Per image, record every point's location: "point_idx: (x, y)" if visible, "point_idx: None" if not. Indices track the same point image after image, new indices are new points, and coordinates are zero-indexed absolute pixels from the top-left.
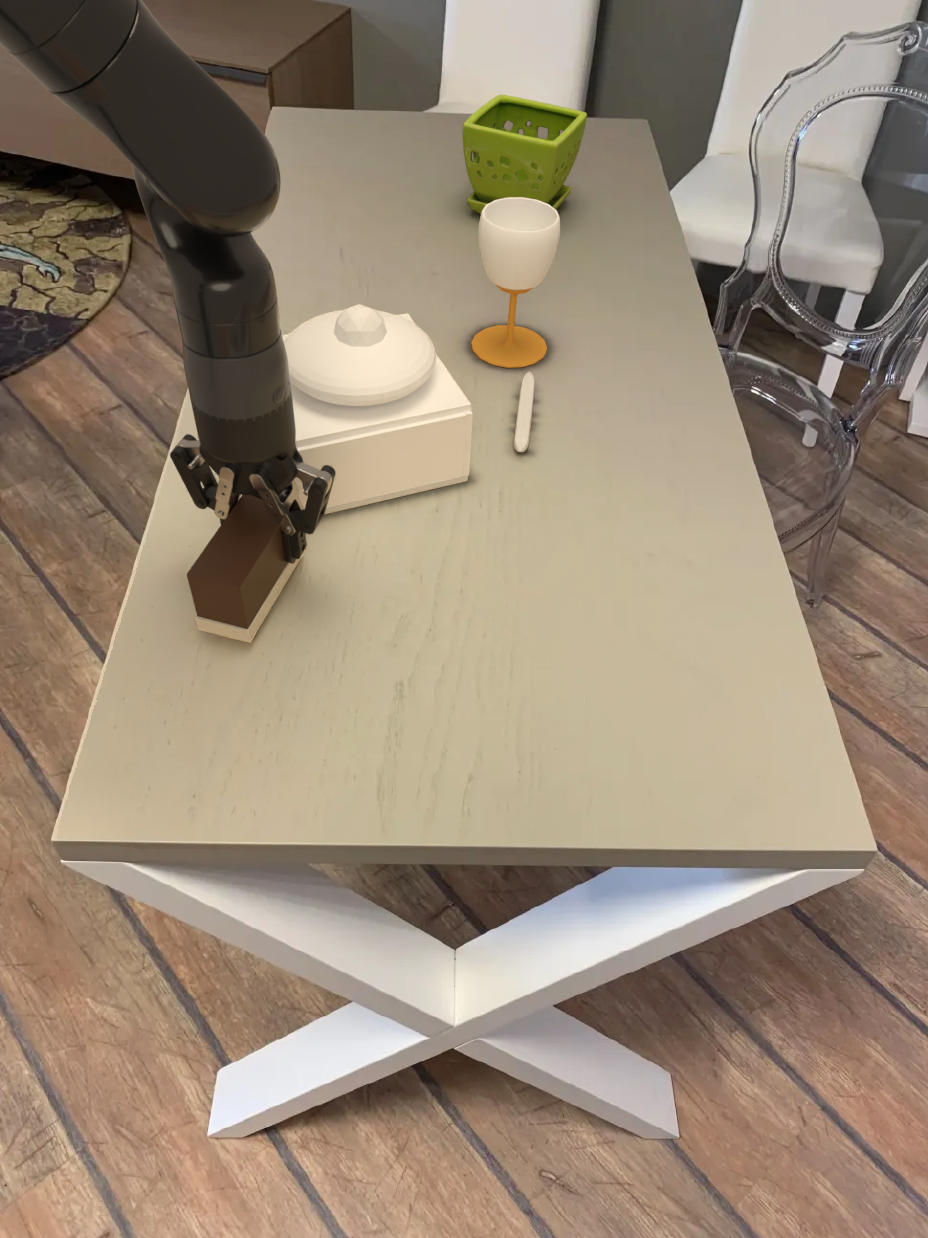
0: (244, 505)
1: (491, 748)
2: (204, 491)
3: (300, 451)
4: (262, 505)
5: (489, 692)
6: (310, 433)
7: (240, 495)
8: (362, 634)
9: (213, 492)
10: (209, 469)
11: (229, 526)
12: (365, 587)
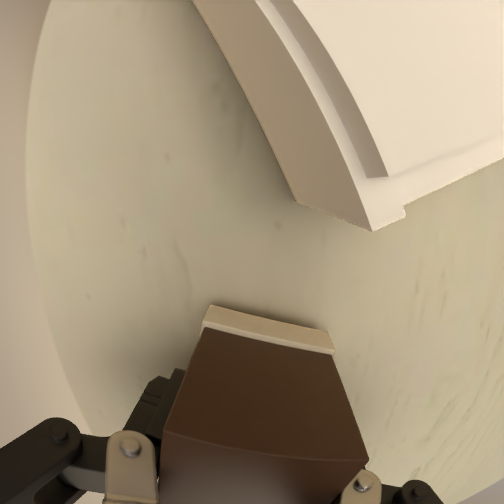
0: (187, 493)
1: (458, 480)
2: (60, 477)
3: (409, 199)
4: (245, 496)
5: (480, 447)
6: (482, 83)
7: (155, 467)
8: (396, 438)
9: (81, 479)
10: (26, 490)
11: None
12: (417, 370)
